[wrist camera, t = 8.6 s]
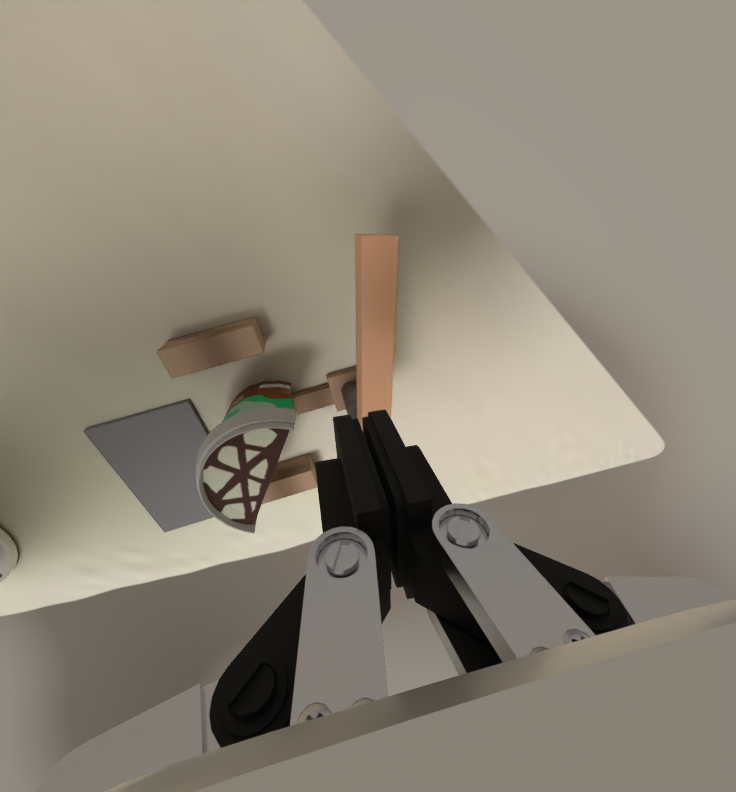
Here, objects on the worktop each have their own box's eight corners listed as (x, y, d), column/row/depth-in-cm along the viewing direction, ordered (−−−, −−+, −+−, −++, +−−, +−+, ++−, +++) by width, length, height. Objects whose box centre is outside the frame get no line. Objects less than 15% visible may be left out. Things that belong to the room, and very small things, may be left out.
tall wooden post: (349, 234, 19) (356, 236, 17) (393, 234, 19) (405, 236, 17) (353, 461, 27) (358, 481, 25) (385, 457, 27) (392, 477, 25)
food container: (231, 351, 32) (208, 402, 23) (295, 370, 34) (296, 423, 25) (204, 453, 36) (175, 528, 27) (261, 465, 38) (252, 537, 30)
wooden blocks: (250, 489, 39) (237, 571, 30) (168, 340, 30) (113, 393, 21) (384, 448, 40) (410, 515, 31) (345, 292, 31) (367, 323, 22)
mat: (166, 528, 40) (164, 532, 39) (86, 428, 32) (83, 431, 32) (248, 503, 40) (248, 506, 40) (189, 399, 33) (187, 401, 32)
